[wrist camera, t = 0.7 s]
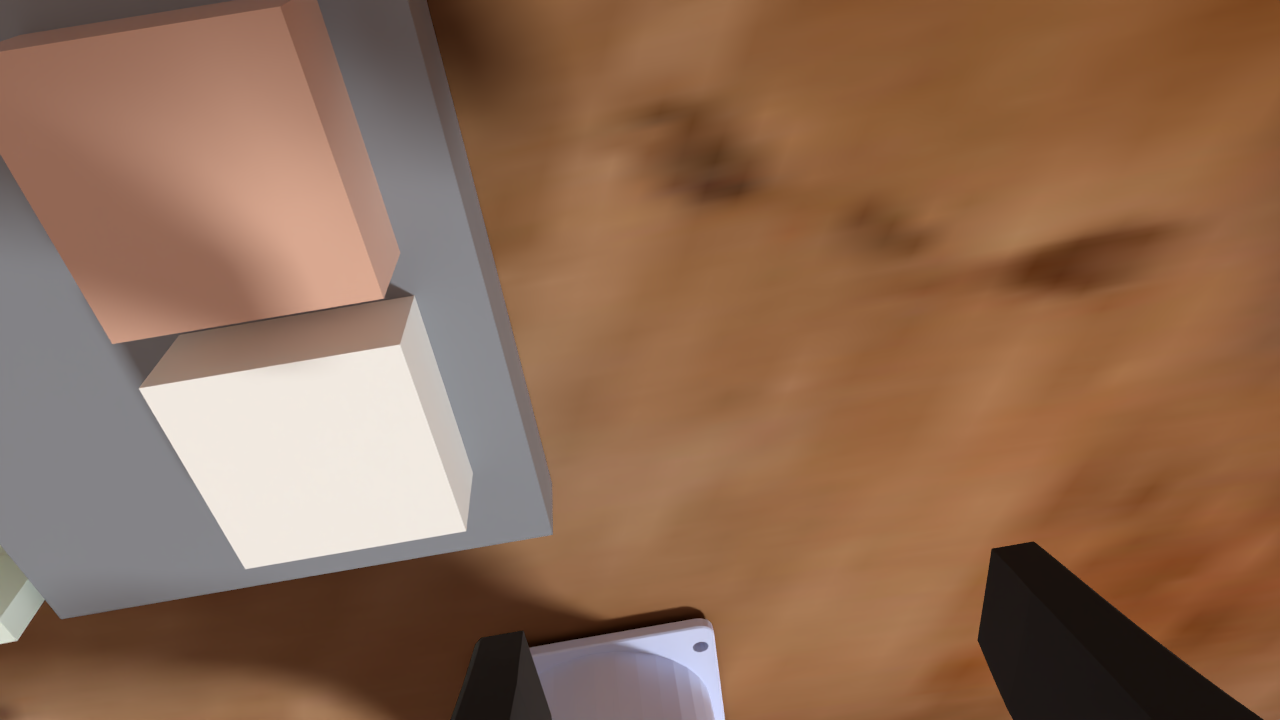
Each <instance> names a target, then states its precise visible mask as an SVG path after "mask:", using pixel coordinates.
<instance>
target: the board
mask: <svg viewBox="0 0 1280 720" xmlns="http://www.w3.org/2000/svg"><path fill="white" fill-rule="evenodd" d="M227 1H233V0H0V42H1V41H4V40H7V39H10V38H13V37H16V36H18V35H23V34H29V33H35V32H41V31H48V30H54V29H60V28H66V27H72V26H79V25H85V24H91V23H97V22H103V21H110V20H116V19H122V18H128V17H134V16H141V15H147V14H153V13H159V12H165V11H172V10H178V9H184V8H190V7H196V6H203V5H209V4H215V3H221V2H227ZM317 1H318V4H319V7H320V10H321V13H322V16H323V19H324V23H325V26H326V29H327V32H328V35H329V38H330V41H331V44H332V47H333V50H334V53H335V56H336V59H337V62H338V65H339V68H340V71H341V74H342V77H343V80H344V83H345V86H346V89H347V92H348V95H349V98H350V101H351V104H352V107H353V111H354V114H355V117H356V120H357V123H358V126H359V129H360V132H361V135H362V138H363V141H364V144H365V147H366V150H367V153H368V156H369V159H370V162H371V165H372V168H373V171H374V174H375V177H376V180H377V183H378V186H379V189H380V192H381V196H382V199H383V202H384V205H385V208H386V211H387V214H388V217H389V220H390V223H391V226H392V229H393V232H394V235H395V238H396V241H397V244H398V247H399V250H400V255H399V258H398V261H397V264H396V266H395V269H394V272H393V275H392V277H391V280H390V283H389V286H388V288H387V291H386V294H385V297H384V299H379V300H373V301H367V302H361V303H355V304H349V305H343V306H337V307H331V308H325V309H319V310H313V311H307V312H301V313H295V314H289V315H283V316H277V317H271V318H265V319H259V320H253V321H247V322H242V323H236V324H230V325H224V326H218V327H212V328H206V329H200V330H194V331H188V332H182V333H176V334H170V335H164V336H158V337H152V338H146V339H140V340H134V341H128V342H122V343H116V344H112V343H111V341H110V339H109V338H108V336H107V334H106V332H105V331H104V329H103V327H102V326H101V324H100V322H99V321H98V319H97V317H96V316H95V314H94V312H93V310H92V309H91V307H90V305H89V304H88V302H87V300H86V299H85V297H84V295H83V293H82V292H81V290H80V288H79V287H78V285H77V283H76V282H75V280H74V278H73V277H72V275H71V273H70V271H69V270H68V268H67V266H66V265H65V263H64V261H63V260H62V258H61V256H60V255H59V253H58V251H57V249H56V248H55V246H54V244H53V243H52V241H51V239H50V238H49V236H48V234H47V232H46V231H45V229H44V227H43V226H42V224H41V222H40V221H39V219H38V217H37V216H36V214H35V212H34V210H33V209H32V207H31V205H30V204H29V202H28V200H27V199H26V197H25V195H24V194H23V192H22V190H21V188H20V187H19V185H18V183H17V182H16V180H15V178H14V177H13V175H12V173H11V172H10V170H9V168H8V166H7V165H6V163H5V161H4V160H3V158H2V156H1V155H0V545H1V547H2V548H3V549H4V550H5V551H6V553H7V554H8V555H9V556H10V558H11V559H12V560H13V561H14V562H15V564H16V565H17V566H18V567H19V569H20V570H21V571H22V572H23V573H24V575H25V576H26V577H27V578H28V580H29V581H30V582H31V583H32V584H33V586H34V587H35V588H36V589H37V591H38V592H39V593H40V594H41V596H42V597H43V598H44V599H45V600H46V602H47V603H48V604H49V605H50V607H51V608H52V609H53V610H54V611H55V613H56V614H57V615H58V616H59V618H60V619H66V618H71V617H77V616H83V615H89V614H95V613H100V612H106V611H112V610H118V609H124V608H130V607H135V606H141V605H147V604H153V603H159V602H164V601H170V600H176V599H182V598H188V597H193V596H199V595H205V594H211V593H217V592H223V591H228V590H234V589H240V588H246V587H252V586H257V585H263V584H269V583H275V582H281V581H286V580H292V579H298V578H304V577H310V576H316V575H321V574H327V573H333V572H339V571H345V570H350V569H356V568H362V567H368V566H374V565H379V564H385V563H391V562H397V561H403V560H409V559H414V558H420V557H426V556H432V555H438V554H443V553H449V552H455V551H461V550H467V549H472V548H478V547H484V546H490V545H496V544H501V543H507V542H513V541H519V540H525V539H531V538H536V537H542V536H548V535H553V517H552V482H551V478H550V474H549V470H548V467H547V463H546V459H545V455H544V451H543V447H542V443H541V440H540V436H539V432H538V428H537V424H536V420H535V416H534V413H533V409H532V405H531V401H530V397H529V393H528V390H527V386H526V382H525V378H524V374H523V370H522V366H521V363H520V359H519V355H518V351H517V347H516V343H515V339H514V336H513V332H512V328H511V324H510V320H509V316H508V312H507V309H506V305H505V301H504V297H503V293H502V289H501V285H500V282H499V278H498V274H497V270H496V266H495V262H494V259H493V255H492V251H491V247H490V243H489V239H488V235H487V232H486V228H485V224H484V220H483V216H482V212H481V208H480V205H479V201H478V197H477V193H476V189H475V185H474V181H473V178H472V174H471V170H470V166H469V162H468V158H467V154H466V151H465V147H464V143H463V139H462V135H461V131H460V128H459V124H458V120H457V116H456V112H455V108H454V104H453V101H452V97H451V93H450V89H449V85H448V81H447V77H446V74H445V70H444V66H443V62H442V58H441V54H440V50H439V47H438V43H437V39H436V35H435V31H434V27H433V24H432V20H431V16H430V12H429V8H428V4H427V0H317ZM408 296H415V299H416V302H417V305H418V308H419V311H420V314H421V317H422V320H423V323H424V326H425V329H426V332H427V335H428V338H429V341H430V344H431V347H432V350H433V353H434V356H435V359H436V362H437V365H438V369H439V372H440V375H441V378H442V381H443V384H444V387H445V390H446V393H447V396H448V399H449V402H450V405H451V408H452V411H453V414H454V417H455V420H456V423H457V426H458V429H459V432H460V435H461V438H462V441H463V444H464V447H465V450H466V454H467V457H468V460H469V463H470V466H471V469H472V472H473V477H472V485H471V494H470V503H469V512H468V520H467V529H466V531H465V532H459V533H453V534H448V535H442V536H436V537H430V538H424V539H418V540H413V541H407V542H401V543H395V544H389V545H383V546H378V547H372V548H366V549H360V550H354V551H349V552H343V553H337V554H331V555H325V556H319V557H314V558H308V559H302V560H296V561H290V562H284V563H279V564H273V565H267V566H261V567H255V568H250V569H245V568H244V566H243V565H242V563H241V561H240V559H239V558H238V556H237V554H236V553H235V551H234V549H233V548H232V546H231V544H230V543H229V541H228V539H227V537H226V536H225V534H224V532H223V531H222V529H221V527H220V526H219V524H218V522H217V521H216V519H215V517H214V515H213V514H212V512H211V510H210V509H209V507H208V505H207V504H206V502H205V500H204V499H203V497H202V495H201V493H200V492H199V490H198V488H197V487H196V485H195V483H194V482H193V480H192V478H191V476H190V475H189V473H188V471H187V470H186V468H185V466H184V465H183V463H182V461H181V460H180V458H179V456H178V454H177V453H176V451H175V449H174V448H173V446H172V444H171V443H170V441H169V439H168V438H167V436H166V434H165V432H164V431H163V429H162V427H161V426H160V424H159V422H158V421H157V419H156V417H155V415H154V414H153V412H152V410H151V409H150V407H149V405H148V404H147V402H146V400H145V399H144V397H143V395H142V393H141V392H140V390H139V387H140V386H141V385H142V383H143V382H144V381H145V379H146V378H147V377H148V375H149V374H150V373H151V371H152V370H153V369H154V367H155V366H156V365H157V364H158V362H159V361H160V360H161V358H162V357H163V356H164V354H165V353H166V352H167V350H168V349H169V348H170V346H171V345H172V344H173V343H174V341H175V340H176V339H177V337H178V336H179V335H181V334H187V333H193V332H199V331H205V330H211V329H217V328H223V327H229V326H235V325H241V324H247V323H253V322H259V321H265V320H271V319H277V318H283V317H289V316H295V315H301V314H307V313H313V312H319V311H325V310H331V309H337V308H343V307H349V306H355V305H361V304H367V303H373V302H378V301H384V300H390V299H396V298H402V297H408Z"/></svg>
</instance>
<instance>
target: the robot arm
mask: <svg viewBox="0 0 1280 720" xmlns="http://www.w3.org/2000/svg"><path fill="white" fill-rule="evenodd" d="M978 642H979V645H980V647H981V649H982V652H983V654H984V656H985V659H986V661H987V664H988V666H989V668H990V671H991V673H992V676H993V678H994V680H995V682H996V685H997V687H998V689H999V691H1000V694H1001V696H1002V698H1003V700H1004V702H1005V705H1006V707H1007V709H1008V711H1009V713H1010V715H1011V716H1012V718H1013V720H1263V719H1262V718H1260V717H1259V716H1258V715H1256V714H1255V713H1253V712H1252V711H1251V710H1249V709H1248V708H1246V707H1245V706H1244V705H1242V704H1241V703H1239V702H1238V701H1236V700H1235V699H1234V698H1232V697H1231V696H1229V695H1228V694H1227V693H1225V692H1224V691H1223V690H1221V689H1220V688H1218V687H1217V686H1216V685H1214V684H1213V683H1212V682H1210V681H1209V680H1208V679H1206V678H1205V677H1204V676H1202V675H1201V674H1199V673H1198V672H1197V671H1196V670H1194V669H1193V668H1192V667H1190V666H1189V665H1188V664H1186V663H1185V662H1184V661H1182V660H1181V659H1180V658H1179V657H1177V656H1176V655H1175V654H1173V653H1172V652H1171V651H1169V650H1168V649H1167V648H1165V647H1164V646H1163V645H1162V644H1160V643H1159V642H1158V641H1156V640H1155V639H1154V638H1152V637H1151V636H1150V635H1149V634H1147V633H1146V632H1145V631H1144V630H1142V629H1141V628H1140V627H1138V626H1137V625H1136V624H1135V623H1133V622H1132V621H1131V620H1130V619H1128V618H1127V617H1126V616H1125V615H1123V614H1122V613H1121V612H1120V611H1118V610H1117V609H1116V608H1115V607H1114V606H1112V605H1111V604H1110V603H1109V602H1107V601H1106V600H1105V599H1104V598H1102V597H1101V596H1100V595H1099V594H1097V593H1096V592H1095V591H1094V590H1093V589H1091V588H1090V587H1089V586H1088V585H1086V584H1085V583H1084V582H1083V581H1082V580H1080V579H1079V578H1078V577H1077V576H1076V575H1074V574H1073V573H1072V572H1071V571H1069V570H1068V569H1067V568H1066V567H1065V566H1063V565H1062V564H1061V563H1060V562H1059V561H1057V560H1056V559H1055V558H1054V557H1052V556H1051V555H1050V554H1049V553H1048V552H1046V551H1045V550H1044V549H1043V548H1041V547H1040V546H1039V545H1037V544H1036V543H1035V542H1028V543H1022V544H1017V545H1011V546H1005V547H999V548H994V549H992V551H991V557H990V564H989V570H988V577H987V583H986V589H985V596H984V602H983V609H982V615H981V622H980V628H979V635H978ZM450 720H725V716H724V708H723V700H722V692H721V685H720V677H719V669H718V661H717V653H716V645H715V637H714V631H713V627H712V624H711V622H709V621H708V620H706V619H702V618H696V619H690V620H684V621H679V622H673V623H667V624H661V625H656V626H650V627H644V628H638V629H633V630H627V631H621V632H615V633H610V634H604V635H598V636H592V637H587V638H581V639H575V640H569V641H564V642H558V643H552V644H546V645H541V646H535V647H529V646H528V643H527V640H526V637H525V634H524V631H518V632H512V633H506V634H500V635H495V636H489V637H483V638H481V639H480V640H479V641H478V642H477V643H476V644H475V647H474V651H473V654H472V657H471V661H470V664H469V667H468V670H467V673H466V676H465V680H464V683H463V686H462V689H461V691H460V694H459V697H458V700H457V703H456V706H455V709H454V711H453V714H452V717H451V719H450Z"/></svg>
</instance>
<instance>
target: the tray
mask: <svg viewBox="0 0 1280 720" xmlns="http://www.w3.org/2000/svg"><path fill="white" fill-rule="evenodd" d="M44 600H45V599H44V598H43V597H42V596H41V594H40V593H39V592H38V591H37V589H36V588H35V587H34V586H33V584H32V583H31V582H30V581H29V580H28V578H27V577H26V576H25V575H24V573H23V572H22V571H21V570H20V569H19V567H18V566H17V565H16V564H15V562H14V561H13V560H12V559H11V558H10V556H9V555H8V554H7V553H6V551H5V550H4V549H3V548H2V547H1V545H0V644H3V643H9V642H14V641H18V639H19V638H20V636H21V635H22V633H23V632H24V630H25V629H26V627H27V626H28V624H29V623H30V621H31V620H32V618H33V617H34V615H35V614H36V612H37V611H38V609H39V608H40V606H41V605H42V603H43V602H44Z"/></svg>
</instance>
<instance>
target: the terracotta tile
mask: <svg viewBox="0 0 1280 720" xmlns="http://www.w3.org/2000/svg"><path fill="white" fill-rule="evenodd" d="M0 155H1V156H2V158H3V160H4V161H5V163H6V165H7V166H8V168H9V170H10V172H11V173H12V175H13V177H14V178H15V180H16V182H17V183H18V185H19V187H20V188H21V190H22V192H23V194H24V195H25V197H26V199H27V200H28V202H29V204H30V205H31V207H32V209H33V210H34V212H35V214H36V216H37V217H38V219H39V221H40V222H41V224H42V226H43V227H44V229H45V231H46V232H47V234H48V236H49V238H50V239H51V241H52V243H53V244H54V246H55V248H56V249H57V251H58V253H59V255H60V256H61V258H62V260H63V261H64V263H65V265H66V266H67V268H68V270H69V271H70V273H71V275H72V277H73V278H74V280H75V282H76V283H77V285H78V287H79V288H80V290H81V292H82V293H83V295H84V297H85V299H86V300H87V302H88V304H89V305H90V307H91V309H92V310H93V312H94V314H95V316H96V317H97V319H98V321H99V322H100V324H101V326H102V327H103V329H104V331H105V332H106V334H107V336H108V338H109V339H110V341H111V343H112V344H116V343H122V342H128V341H134V340H140V339H146V338H152V337H158V336H164V335H170V334H176V333H182V332H188V331H194V330H200V329H206V328H212V327H218V326H224V325H230V324H236V323H242V322H247V321H253V320H259V319H265V318H271V317H277V316H283V315H289V314H295V313H301V312H307V311H313V310H319V309H325V308H331V307H337V306H343V305H349V304H355V303H361V302H367V301H373V300H379V299H384V297H385V294H386V291H387V288H388V286H389V283H390V280H391V277H392V275H393V272H394V269H395V266H396V264H397V261H398V258H399V255H400V250H399V247H398V244H397V241H396V238H395V235H394V232H393V229H392V226H391V223H390V220H389V217H388V214H387V211H386V208H385V205H384V202H383V199H382V196H381V192H380V189H379V186H378V183H377V180H376V177H375V174H374V171H373V168H372V165H371V162H370V159H369V156H368V153H367V150H366V147H365V144H364V141H363V138H362V135H361V132H360V129H359V126H358V123H357V120H356V117H355V114H354V111H353V107H352V104H351V101H350V98H349V95H348V92H347V89H346V86H345V83H344V80H343V77H342V74H341V71H340V68H339V65H338V62H337V59H336V56H335V53H334V50H333V47H332V44H331V41H330V38H329V35H328V32H327V29H326V26H325V23H324V19H323V16H322V13H321V10H320V7H319V4H318V1H317V0H233V1H227V2H221V3H215V4H209V5H203V6H196V7H190V8H184V9H178V10H172V11H165V12H159V13H153V14H147V15H141V16H134V17H128V18H122V19H116V20H110V21H103V22H97V23H91V24H85V25H79V26H72V27H66V28H60V29H54V30H48V31H41V32H35V33H29V34H23V35H18V36H16V37H13V38H10V39H7V40H4V41H1V42H0Z"/></svg>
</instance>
